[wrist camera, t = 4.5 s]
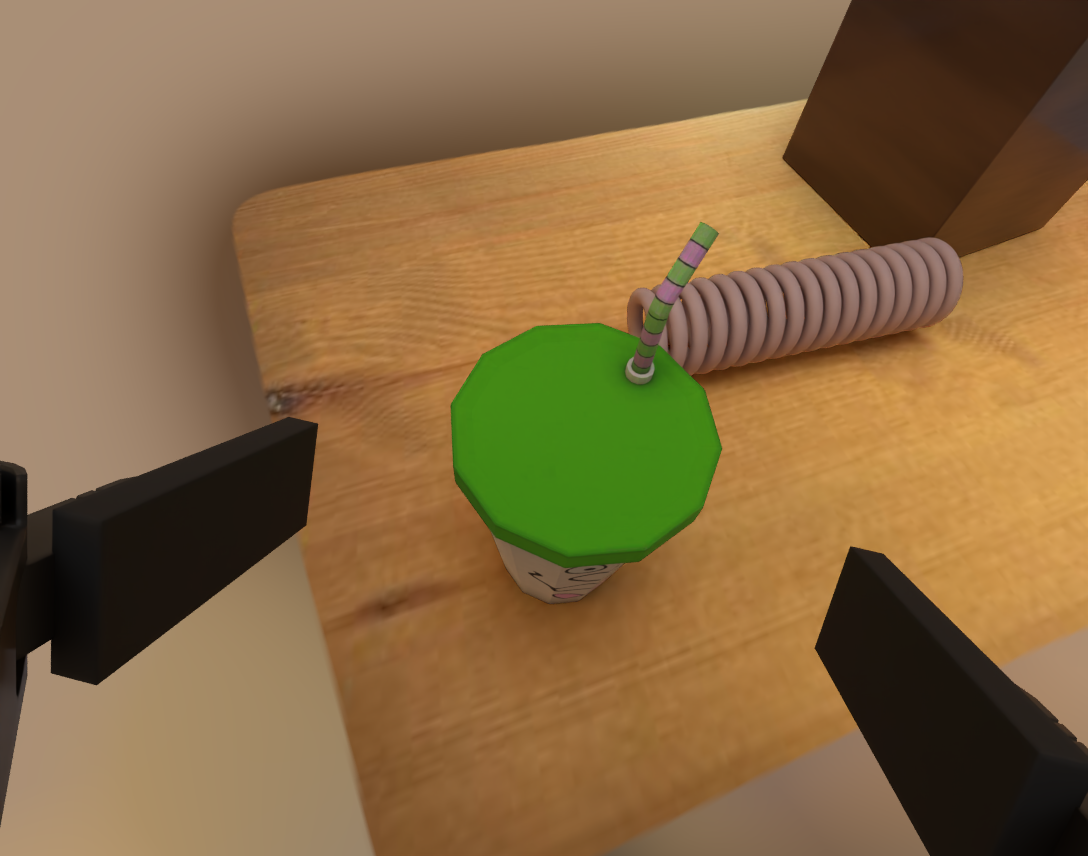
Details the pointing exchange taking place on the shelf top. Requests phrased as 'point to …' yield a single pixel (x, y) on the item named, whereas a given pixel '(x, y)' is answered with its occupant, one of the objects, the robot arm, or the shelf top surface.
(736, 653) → the shelf top surface
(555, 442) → the cup
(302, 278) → the shelf top surface
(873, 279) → the coil
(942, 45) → the stand
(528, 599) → the shelf top surface
